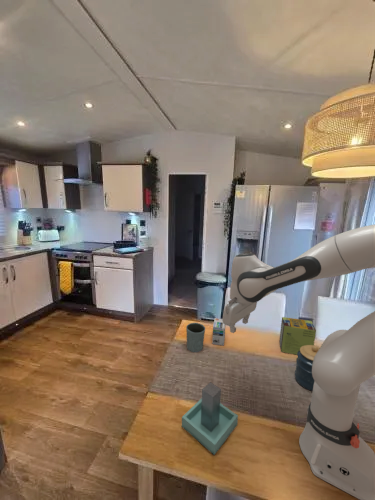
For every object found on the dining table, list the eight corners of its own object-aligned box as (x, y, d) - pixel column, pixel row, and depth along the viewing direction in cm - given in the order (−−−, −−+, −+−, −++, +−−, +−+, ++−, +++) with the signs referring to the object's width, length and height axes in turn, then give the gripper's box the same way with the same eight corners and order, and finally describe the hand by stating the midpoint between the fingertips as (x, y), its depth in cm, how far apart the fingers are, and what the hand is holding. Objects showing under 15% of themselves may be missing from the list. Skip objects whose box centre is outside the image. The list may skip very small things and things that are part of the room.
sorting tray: (237, 424, 83) (238, 415, 83) (214, 455, 73) (214, 444, 72) (206, 402, 92) (206, 393, 92) (181, 426, 82) (181, 416, 81)
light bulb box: (224, 346, 129) (225, 328, 127) (211, 344, 130) (212, 326, 128) (224, 335, 139) (226, 318, 137) (213, 334, 140) (214, 317, 138)
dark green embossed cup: (187, 341, 133) (187, 321, 130) (205, 343, 131) (205, 323, 129) (184, 352, 123) (185, 331, 120) (203, 354, 121) (204, 333, 119)
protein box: (312, 357, 121) (316, 330, 118) (280, 352, 125) (283, 325, 122) (308, 346, 131) (311, 320, 128) (278, 341, 135) (281, 316, 132)
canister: (293, 385, 102) (297, 349, 99) (295, 367, 113) (299, 334, 110) (327, 397, 96) (334, 359, 93) (326, 377, 107) (331, 342, 104)
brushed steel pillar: (219, 423, 83) (221, 389, 80) (211, 432, 79) (213, 397, 77) (208, 415, 86) (210, 382, 83) (200, 423, 82) (202, 389, 80)
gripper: (234, 305, 80) (232, 341, 83) (261, 289, 95) (258, 321, 98) (219, 299, 84) (217, 334, 87) (246, 286, 99) (244, 316, 102)
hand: (239, 327), depth 93 cm, fingers open, 8 cm apart
